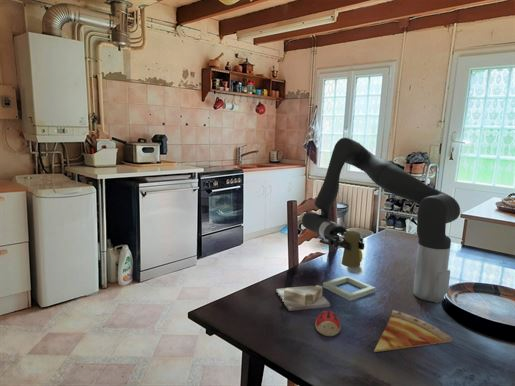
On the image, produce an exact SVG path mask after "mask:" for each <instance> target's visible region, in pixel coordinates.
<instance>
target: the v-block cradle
mask: <svg viewBox="0 0 515 386" xmlns="http://www.w3.org/2000/svg"><path fill="white" fill-rule="evenodd" d="M323 289H324V287H323V285H318V284H316V285H315V286H314V285H307V286H306V285H305V286H294V287H293V286H292V287H282V288H276V290H275V292H276V294H277V293H278V294H277V295H278V297H279V296H280V297H279V298H280V300H281V299H282V300H281V301H282V302H284V303H283V304H284V306H285V307H286V308H287V310H288V311H289V312H290V311H291V312H292V311H301V310H309V309H310V310H312V309H319V308H320V309H321V308H329V307H331V303H330V301H328V299H326V298H325V296H324V295H323Z"/></svg>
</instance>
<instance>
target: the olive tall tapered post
mask: <svg viewBox="0 0 515 386" xmlns="http://www.w3.org/2000/svg"><path fill="white" fill-rule="evenodd" d="M361 236H362V234H361V233H360V232H358V231H355V230H347V232H346V233H345V235H344V238H345V241H346V242H348V243H349V244H351V250H350V251H348V250H346V249H344V248H343V253H342V257H341V258H342V259H341V265H342V266H344V267H348V268H358V267H360V266H361V262H360V255H359V241H360V239H361Z"/></svg>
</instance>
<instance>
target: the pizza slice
mask: <svg viewBox="0 0 515 386" xmlns="http://www.w3.org/2000/svg"><path fill="white" fill-rule="evenodd" d="M451 342H453V338H452V337H451V336H450V335H449V334H448V333H446V332H444V331H442V330H441V329H440V328H438V327H436V326H435V325H432V324H431V323H429V322H426V321H424V320H422V319H420V318H418V317H416V316H413V315H410V314H408V313H405V312H401V311H398V310H395V309H392V311H391V316H390V317H389V319H388V322H387V324H386V326H385V328H384V330H383V331H382V333H381V336H380V338H379V339H378V342H377V344H376V346H375V348H374V350H373V352H374V353H376V352H377V353H378V352H384V351H385V352H386V351H394V350H401V349H408V348H414V347H415V348H416V347H421V346H428V345H429V346H430V344H431V345H437V343H438V344H443V343H451Z"/></svg>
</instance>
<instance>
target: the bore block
mask: <svg viewBox="0 0 515 386" xmlns="http://www.w3.org/2000/svg"><path fill="white" fill-rule="evenodd" d="M345 283H349V284H352V285H354V286H356V287H358V288H360V289H359V290H358V289H357V290H356V291H353V292H348V291H347V290H345V289H342V288H341V287H338V286H339V285H342V284H345ZM322 286H323V289H326V290H328V291H329V292H332V293H333V294H335V295H338V296H340V297H342V298H343V299H345V300H347V301H350V302H351V301H353V300H357V299H359V298H362V297H365V296H368V295H370V294H374V293H376V287H374V286H372V285H370V284H368V283H365V282H363V281H361V280H359V279H357V278H355V277H352V276H351V275H344V276H341V277H338V278H334V279H331V280H328V281H327V280H326V281H324V282H322Z"/></svg>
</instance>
